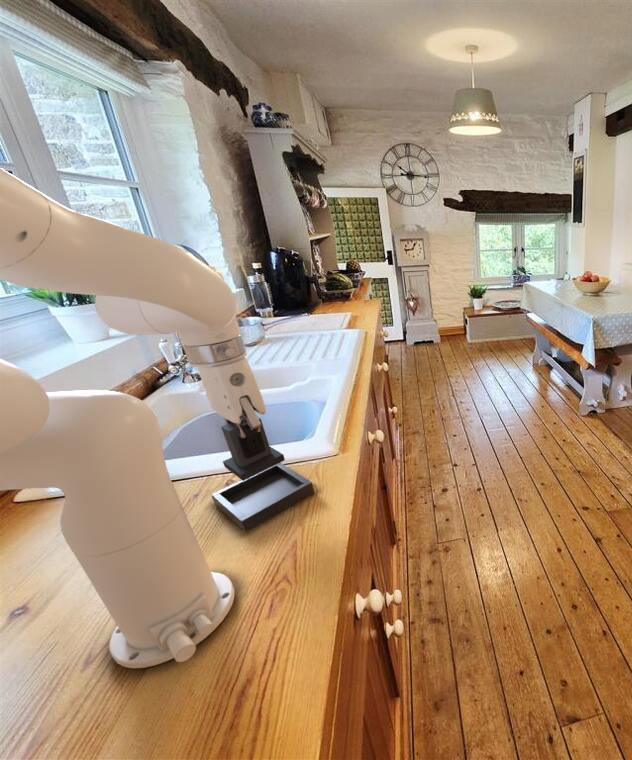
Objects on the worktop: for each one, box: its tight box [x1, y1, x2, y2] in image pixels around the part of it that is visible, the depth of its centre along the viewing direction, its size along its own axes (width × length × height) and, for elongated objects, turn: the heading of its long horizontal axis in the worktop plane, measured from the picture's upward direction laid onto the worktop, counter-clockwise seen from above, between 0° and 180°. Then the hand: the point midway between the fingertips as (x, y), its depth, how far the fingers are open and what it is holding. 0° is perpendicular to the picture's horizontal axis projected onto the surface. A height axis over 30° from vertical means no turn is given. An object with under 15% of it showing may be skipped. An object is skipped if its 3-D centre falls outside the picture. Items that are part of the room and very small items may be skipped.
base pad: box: [210, 462, 315, 533], centre depth 73 cm, size 12×12×2 cm
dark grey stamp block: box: [221, 417, 286, 481], centre depth 70 cm, size 7×7×8 cm
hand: (250, 450), depth 70 cm, fingers closed on dark grey stamp block, 3 cm apart
